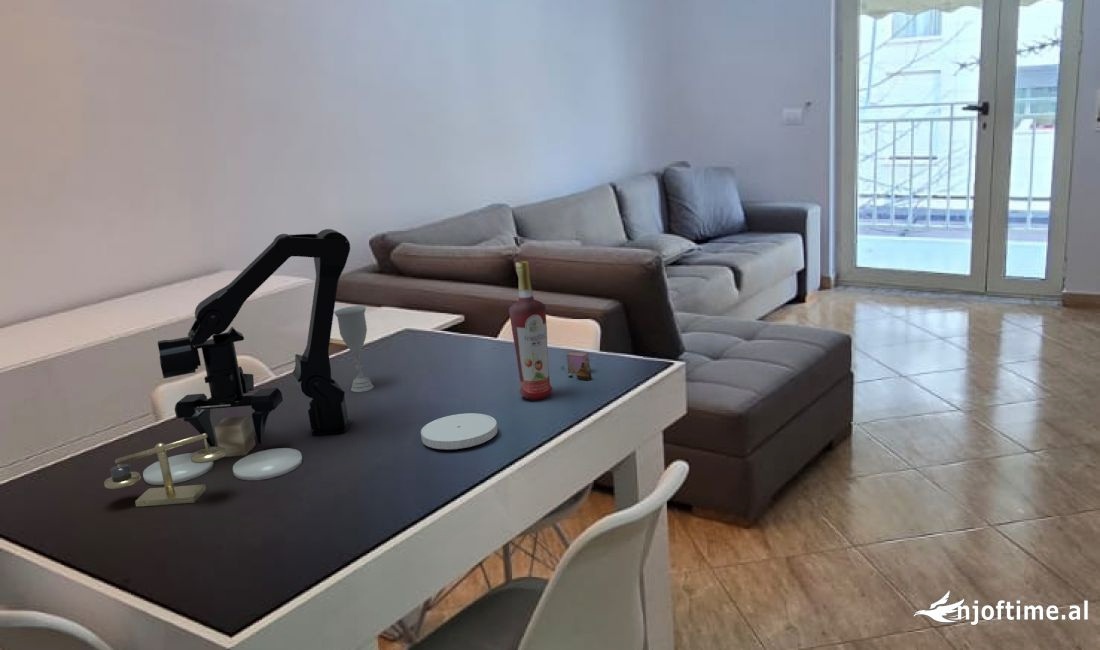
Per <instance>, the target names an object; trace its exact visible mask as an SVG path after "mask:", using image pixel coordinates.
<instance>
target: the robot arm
mask: <svg viewBox="0 0 1100 650" xmlns="http://www.w3.org/2000/svg"><path fill="white" fill-rule="evenodd" d="M350 251H351V244H350V240H349V239H348V238H347V237H346V235H344V234H343V233H341V232H339V231H338V230H334V229H331V228H325V229H323V230H320V231H319V232H317V233H299V234H288V233H280V234H279V235H277V236H276V237H274V239H273V241H272V242H271V243H270V244H269V245H268V246H267V247H266V248H265V249H264V250H263V251H262V252H261V253H260V254H258V256H257V257H255V259H253V261H251V263H249V264H248V265H247V266H246V267H245V268H244V269H243V270H242V271H241V272H240V273H239V274H238V275H237V276H236V277H235V278H234V279H233V280H232V281H231V282H230V283H228V284H227V285H226V286H224V287H222V288H220V289H218V290H217V291H214V292H213V293H212V294H210V295H208V296H207V297H206V298H205V299H202V301H200V302H198V304H197V306H196V307H195V310H194V319H195V320H194V323H193V324H192V325H191V328H190V329H189V331H188V333H187V336H186V337H184V336H183V337H180V338H175V339H163V340H162V339H161V340H159V341H157V347H158V353H159V364H160V369H161V373H162V377H163V379H168V378H175V377H179V376H185V375H189V374H193V373H197V372H196V370H199V367H201V366H202V364H201V359H200V354H199V349H201V352H202V357H203V362H204V367H205V372H206V376H205V377H203V378H204V383H205V384H208V387H209V392H210V393H209V394H210V397H209V398H208V397H207V395H206V394H205V393H194V394H186V395H185V396H184V397H182V398H181V399H180V400H178V401H177V402H176V403H175V405H174V413H175V418H177V419H182V418H183V422H186V423H187V422H188V423H189V424H190V425H191V426H192V427H193V428H194V429H195V430H196V431H197V432H198V433H199V435H200V434H203V433H206V434H207V438H206V440H207V445H209V447H216V445H217V444H216V436H215V434H214V430H213V425H212V422H211V416H210V415H211V409H223V408H237V407H238V408H239V407H249V406H251V409H252V410H254V411H253V412H252V414H251V418H252V419H251V420H252V424H253V429H254V432H255V437H256V439H257V443H258V445H262V444H263V442H264V437H265V431H266V425H267V419H268V417H269V414H270V413H271V412H272V411H274V410H276V408H277V407H278V406H279V405H280V404H281V403H282V402H283V401H284V399H283V393H282V391H281V390H280V389H279V388H278V387H270V388H260V389H258V390H257V391H256V392H255V393H254V394H250V395H245V394H248V393H249V392H251V391H255V385H254V384H255V382H254V380H255V379H254V374H253V373H244V371H243V368H242V366H239V362H238V358H237V357H238V356H237V352H236V347H235V343H236V342H241V341H244V340H245V337H244V335H243V333H242V332H240V331H238V330H236V329H235V327H233V326H231V327H230V328H229V326H230V325H231V324H232V323H233V321H234V320H235V318H236V317H237V315H238V313H239V312H240V310H241V308H242V306H243V305H244V303H245V302H246V301H247V299H248V298H249V297H251V296H252V295H253V294H254V293H255V291H257V290H258V289H259V288H260V287H261V286H262V285H263V284H264V283H265V282H266V281H267V280H268V279H269V278H271V276H272V275H273V274H274V273H276V271H278V270H279V268H280V267H281V266H282V265H283V264H284V263H285V262H286V261H288V259H290V258H291V257H297V258H298V257H301V258H302V257H303V258H313V263H314V268H315V282H314V283H315V284H314V289H313V298H312V304H311V305H312V306H311V310H310V320H309V327H308V335H307V342H306V346H305V349H304V351H303V354H297V353H296V354H295V355H294V356H295V357H294V360H295V364H294V365H295V366H294V369H293V371H292V375H293V377H294V378H295V382H296V385H297V386H298V387H299V389H300V390H301V392H302V393H303V395H305V396H306V397H307V398H310V399H311V401H310V402H309V409H307V413H308V418H309V424H310V425H309V426H310V429H311V430H312V431H311V433H310V434H311V436H321V435H332V434H333V435H334V434H344V433H345V432H346V431H347V429H348V427H349V426H350V425H351V423H352V418H350V419H349V416H348V409H347V408H348V407H347V401H346V396H345V395H346V394H345V391H344V390H343V388H342V387H341V386H340V385H339V383H338V382H337V381H336V380H335V379H333V378H332V371H331V370H332V369H331V361H330V353H329V348H330V343H331V336H332V335H331V334H332V327H333V320H334V315H335V313H334V312H335V306H336V297H337V291H338V285H339V279H340V277H341V276H342V273H343V271H344V269H345V267H346V264H347V261H348V258H349V255H350V253H351V252H350ZM228 328H229V330H227V329H228ZM226 330H227V332H225V331H226ZM211 337H212V338H211Z"/></svg>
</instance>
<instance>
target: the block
mask: <svg viewBox="0 0 1100 650" xmlns="http://www.w3.org/2000/svg"><path fill="white" fill-rule="evenodd" d="M251 418H252V417H251V416H250V415H245V416H243V415H242V416H233V417H224V418H223V419H222V420H221V421H220V422H218V423H217V424H216V425H215V426H214V427H213V428H214V432H215V439H216V442H217V447H224V448H225V450H226V454H225V456H223V457H224V458H225V457H239V456H240V455H241V456H248V455H249V453H250V452H249V451H250V450H251V451H252V450H253V449H254V447H255V446H256V441H255V435H254V427H253V425H252V424H253V422H252V419H251ZM248 452H249V453H248ZM241 456H240V457H241ZM223 457H222V458H223Z"/></svg>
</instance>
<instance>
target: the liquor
mask: <svg viewBox="0 0 1100 650" xmlns="http://www.w3.org/2000/svg"><path fill="white" fill-rule="evenodd" d="M515 271H516V274H517V278H518V301H516V302H514V303H513V304H512V305H511V306H510V307H509V308H508V311H509V312H508V313H509V319H510V324H511V325H510V326H511V332H512V338H513V339H512V340H513V343H514V350H515V355H516V361H517V367H518V377H519V382H520V384H519V385H520V389H519V391H518V393H519V395H521V396H522V397H524V399H526V400H528V401H540V400H543V399H546V398H547V397H548V396H550V394H551V392H552V391H553V389H554V388H553V386H552V385H551V382H550V380H551V379H550V367H549V365H550V364H549V353H548V327H547V326H548V325H547V314H546V313H547V312H546V304H544V303H543V302H541V301H540V300H538V299H534V293H533V288H532V283H531V278H530V275H531V274H530V273H531V268H530V260H529V261H528V260H524V261H523V260H522V261H517V262H515Z"/></svg>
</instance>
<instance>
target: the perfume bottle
mask: <svg viewBox="0 0 1100 650" xmlns="http://www.w3.org/2000/svg"><path fill="white" fill-rule="evenodd" d="M566 360H567V361H566V363H567V372H568V378H569V379H570V377H573V376H574V375H573V374H575V375H576V378H577V379H578V380H580V381H590V380H591V379H592V374H591V365H590V353H589V352H581V351H573V350H572V351H570V352H569V353H567V354H566Z"/></svg>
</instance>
